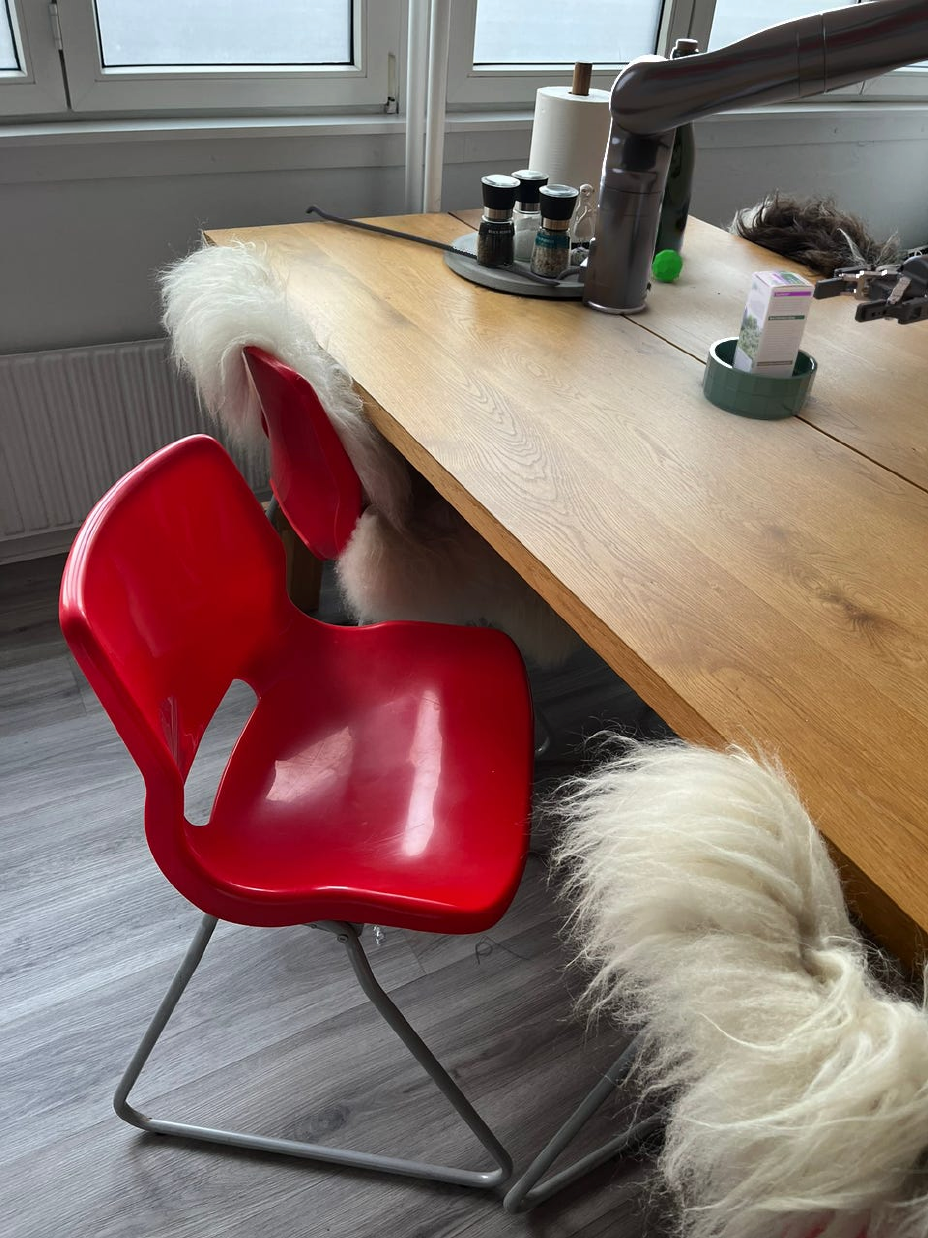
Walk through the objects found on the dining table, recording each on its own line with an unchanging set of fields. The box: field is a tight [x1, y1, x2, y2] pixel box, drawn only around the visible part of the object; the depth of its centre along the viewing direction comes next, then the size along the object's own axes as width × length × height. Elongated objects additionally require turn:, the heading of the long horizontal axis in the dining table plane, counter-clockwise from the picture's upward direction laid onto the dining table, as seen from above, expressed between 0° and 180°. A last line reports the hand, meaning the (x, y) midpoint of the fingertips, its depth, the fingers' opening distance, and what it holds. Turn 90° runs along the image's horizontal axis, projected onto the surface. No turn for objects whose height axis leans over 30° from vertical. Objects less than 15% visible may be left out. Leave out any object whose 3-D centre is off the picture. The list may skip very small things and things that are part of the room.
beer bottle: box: [652, 38, 700, 262], centre depth 159 cm, size 10×10×33 cm
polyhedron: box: [651, 250, 684, 283], centre depth 156 cm, size 5×5×5 cm
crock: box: [701, 336, 819, 421], centre depth 119 cm, size 13×13×6 cm
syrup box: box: [732, 269, 815, 377], centre depth 116 cm, size 6×6×14 cm
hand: (836, 301), depth 118 cm, fingers open, 8 cm apart
